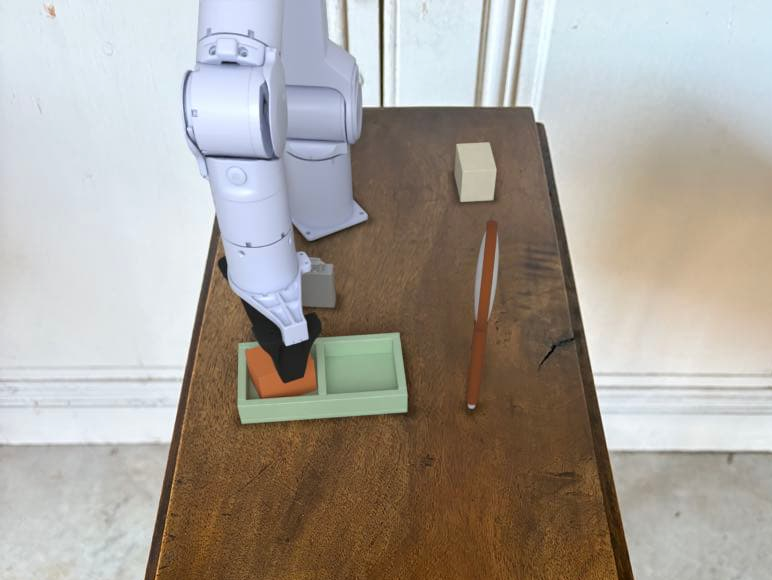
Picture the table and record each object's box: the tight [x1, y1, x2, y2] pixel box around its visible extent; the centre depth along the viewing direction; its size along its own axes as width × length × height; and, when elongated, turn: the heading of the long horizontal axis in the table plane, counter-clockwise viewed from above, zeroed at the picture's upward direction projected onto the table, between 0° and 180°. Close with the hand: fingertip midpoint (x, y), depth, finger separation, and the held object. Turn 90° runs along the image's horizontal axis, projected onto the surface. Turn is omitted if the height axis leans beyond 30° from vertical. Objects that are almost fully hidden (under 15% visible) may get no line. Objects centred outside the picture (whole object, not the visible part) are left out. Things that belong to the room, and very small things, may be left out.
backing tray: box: [236, 332, 409, 425], centre depth 78 cm, size 8×16×2 cm, turn 96°
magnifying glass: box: [465, 219, 500, 410], centre depth 69 cm, size 9×2×20 cm, turn 173°
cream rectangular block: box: [454, 141, 497, 203], centre depth 95 cm, size 6×4×4 cm
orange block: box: [245, 346, 317, 399], centre depth 77 cm, size 6×4×4 cm
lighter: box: [301, 256, 337, 309], centre depth 82 cm, size 7×2×8 cm, turn 87°
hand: (278, 350), depth 74 cm, fingers open, 7 cm apart
